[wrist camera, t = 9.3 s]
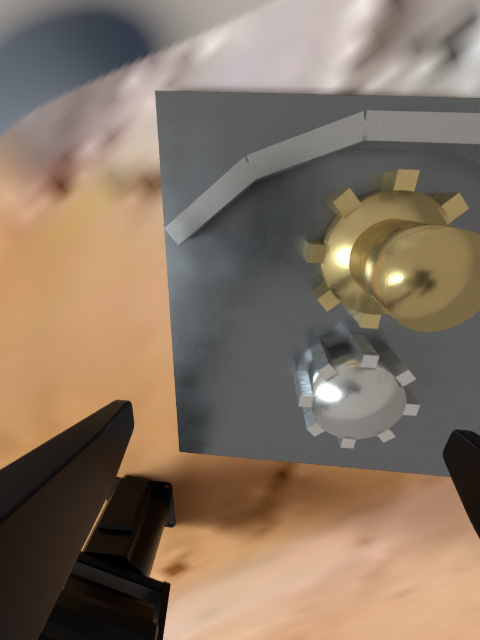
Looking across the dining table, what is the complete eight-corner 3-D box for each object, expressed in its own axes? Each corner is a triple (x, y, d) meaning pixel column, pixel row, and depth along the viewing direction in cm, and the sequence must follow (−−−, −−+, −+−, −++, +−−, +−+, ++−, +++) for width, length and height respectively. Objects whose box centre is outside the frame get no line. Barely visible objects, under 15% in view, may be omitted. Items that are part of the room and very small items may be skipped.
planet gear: (426, 321, 16) (508, 384, 11) (295, 312, 17) (311, 369, 11) (476, 175, 13) (626, 161, 8) (314, 169, 14) (349, 151, 8)
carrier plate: (472, 467, 22) (508, 514, 19) (182, 441, 23) (169, 480, 20) (665, 110, 13) (802, 80, 9) (162, 97, 14) (132, 67, 11)
